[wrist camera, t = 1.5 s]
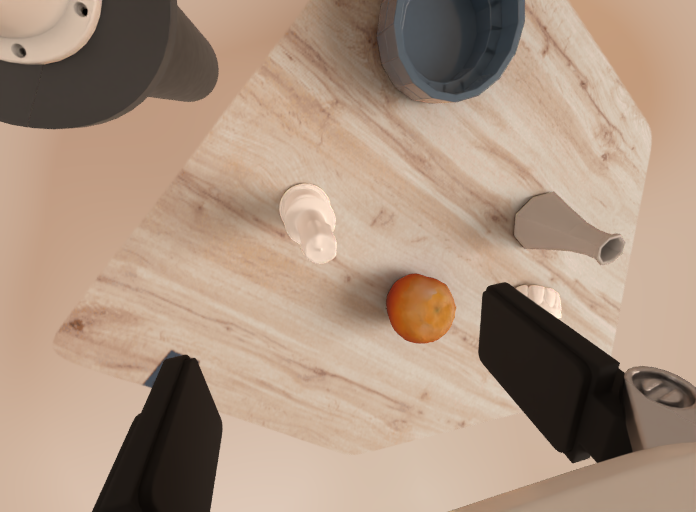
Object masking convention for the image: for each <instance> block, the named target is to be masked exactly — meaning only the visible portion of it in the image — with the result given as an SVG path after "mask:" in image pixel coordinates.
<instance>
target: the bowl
mask: <svg viewBox="0 0 696 512" xmlns="http://www.w3.org/2000/svg"><path fill="white" fill-rule="evenodd" d="M524 23H525V0H383V2H382V4H381V9H380V16H379V23H378V30H377V41H378V46H379V52H380V58H381V63H382V66H383V68H384V70H385V71H386V73H387V75H388V77H389V78H390V80H391V82H392V83H393V85H394V86H395V87H396V88H397V89H398V90H400V91H401V92H402V93H404V94H405V95H406V96H408V97H409V98H410V99H412V100H415V101H421V102H426V103H432V104H434V103H453V102H459V101H462V100H466V99H469V98H472V97H476V96H479V95H480V94H481V93H483V92H484V91H485V90H486V89H487V88H489V87H490V86H491V85H492V84H494V83H495V82H496V81H497V80H498V79H500V77H501V76H502V74H503V73H504V71H505V69H506V68H507V66H508V65H509V63H510V61H511V60H512V58H513V57H514V55H515V53H516V51H517V47H518V44H519V40H520V37H521V33H522V30H523V26H524Z"/></svg>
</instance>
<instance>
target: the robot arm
mask: <svg viewBox="0 0 696 512" xmlns="http://www.w3.org/2000/svg"><path fill="white" fill-rule="evenodd" d="M101 5H102V0H0V60H3V61H7V62H12V63H19V64H25V65H40V64H49V63H53V62H58V61H61V60H63V59H65V58H67V57H69V56H71V55H73V54H75V53H76V52H77V51H79V50H80V49H81V48H82V47H83V46H84V45H85V44H86V43H87V42H88V40H89V39H90V37H91V36H92V34H93V33H94V31H95V29H96V26H97V23H98V20H99V18H100V13H101ZM84 9H88V14H87V16H85V15H84V12H83V11H84ZM24 49H25V50H26V55H25V54H24V53H23V50H24ZM478 353H479V358H480V360H481V362H482V363H483V365H484V366H485V367H486V368H487V369H488V371H489V372H490V373H491V374H492V375H493V376H494V378H495V379H496V380H497V381H498V382H499V383H500V385H501V386H502V387H503V388H504V389H505V391H506V392H507V393H508V394H509V395H510V396H511V398H512V399H513V400H514V401H515V402H516V404H517V405H518V406H519V407H520V408H521V409H522V411H523V412H524V413H525V414H526V415H527V416H528V418H529V419H530V420H531V421H532V422H533V424H534V425H535V426H536V427H537V428H538V429H539V431H540V432H541V433H542V434H543V435H544V436H545V438H546V439H547V440H548V441H549V442H550V444H551V445H552V446H553V447H554V448H555V449H556V450H557V451H558V452H561V453H562V452H563V453H564V454H565V455H566V456H567V458H568V459H569V460H570V461H571V462H572V463H576V462H579V461H581V460H585V459H588V458H590V456H591V457H592V458H593V459H594V460H595V461H596V462H597V463H596V464H593V465H590V466H586V467H583V468H580V469H576V470H573V471H570V472H567V473H564V474H561V475H558V476H555V477H552V478H549V479H546V480H543V481H540V482H537V483H534V484H531V485H527V486H525V487H521V488H518V489H515V490H512V491H509V492H506V493H503V494H500V495H497V496H494V497H491V498H488V499H485V500H482V501H479V502H476V503H473V504H470V505H467V506H464V507H461V508H458V509H455V510H452V511H449V512H696V387H694V386H693V385H692V384H691V383H690V382H688V381H686V380H685V379H683V378H681V377H679V376H678V375H675V374H673V373H670V372H668V371H665V370H661V369H658V368H654V367H646V366H639V367H633V368H630V369H628V370H627V371H626V373H624V372H623V371H621V370H620V369H619V368H618V367H619V364H620V363H619V362H618V361H617V360H615V359H614V358H612V357H611V356H609V355H608V354H607V353H605V352H604V351H602V350H601V349H600V348H598V347H597V346H595V345H594V344H593V343H591V342H590V341H588V340H587V339H586V338H584V337H583V336H581V335H580V334H579V333H577V332H576V331H574V330H573V329H572V328H570V327H569V326H567V325H566V324H565V323H563V322H562V321H560V320H559V319H558V318H556V317H555V316H553V315H552V314H551V313H549V312H548V311H546V310H545V309H543V308H542V307H541V306H539V305H538V304H536V303H535V302H534V301H532V300H531V299H529V298H528V297H527V296H525V295H524V294H522V293H521V292H520V291H518V290H517V289H515V288H514V287H513V286H511V285H510V284H508V283H506V282H503V283H499V284H494V285H490V286H488V287H487V289H486V291H484V292H483V296H482V309H481V323H480V337H479V351H478ZM221 438H222V420H221V418H220V415H219V413H218V410H217V408H216V405H215V403H214V401H213V398H212V396H211V393H210V391H209V388H208V386H207V384H206V381H205V379H204V376H203V374H202V371H201V369H200V367H199V364H198V362H197V360H196V359H195V358H191V359H190V357H189V356H188V355H182V356H178V357H173V358H169V359H166V360H165V361H164V362H163V364H162V367H161V369H160V371H159V373H158V376H157V378H156V380H155V382H154V385H153V387H152V389H151V392H150V394H149V396H148V399H147V401H146V403H145V405H144V408H143V410H142V412H141V413H140V414H139V415H137V416H136V417H135V419H134V421H133V422H132V425H131V427H130V429H129V431H128V434H127V436H126V438H125V440H124V442H123V445H122V447H121V449H120V451H119V453H118V456H117V458H116V460H115V462H114V464H113V467H112V469H111V471H110V473H109V475H108V478H107V480H106V482H105V484H104V487H103V489H102V491H101V493H100V495H99V498H98V500H97V502H96V504H95V506H94V508H93V511H92V512H210V508H211V502H212V495H213V488H214V481H215V476H216V469H217V463H218V457H219V450H220V443H221Z"/></svg>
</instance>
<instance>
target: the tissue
mask: <svg viewBox="0 0 696 512" xmlns="http://www.w3.org/2000/svg"><path fill="white" fill-rule="evenodd" d="M515 289H517V290H518V291H520V292H521V293H522V294H524V295H525V296H527V297H528V298H529V299H531V300H532V301H534V302H535V303H536V304H538V305H539V306H541V307H542V308H543V309H545V310H546V311H548V312H550V313H552V314H553V315H554V316H555V317H556V318H558V319H559V318H560V317H562V314H561V301H560V296H559V293H558V292H555V290H554V289H552V288H547V287H545V288H544V287H543V286H537V285H531V286H529V288H528V286H527V285H522V286H519V287H516V288H515Z"/></svg>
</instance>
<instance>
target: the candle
mask: <svg viewBox="0 0 696 512" xmlns="http://www.w3.org/2000/svg"><path fill="white" fill-rule="evenodd" d="M279 212H280V216H281V219H282V221H283V222H284V224H285V229H286V232H287V234H288V235H289V237H290V238H291V239H292V240H293V241H294V242H296V243H298V244H300V249H301V250H302V251H303V254H304V256H305V258H307V259H308V260H310V261H311V262H313V263H316V264H323V263H326V262H328V261H330V260H332V259H333V258H335V256H336V247H337V241H336V238H335V236H334V234H333V231H334V228H335V224H336V219H335V214H334V211H333V209H332V208H331V205H330V201H329V198H328V196H327V195H326V193H325V192H324V191H323V190H322V189H321V188H319V187H317V186H315V185H312V184H306V183H304V184H298V185H295V186H293V187H291V188H290V189H288V190H287V191H286V192H285V194H284V195H283V197H282V199H281V201H280V206H279Z"/></svg>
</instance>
